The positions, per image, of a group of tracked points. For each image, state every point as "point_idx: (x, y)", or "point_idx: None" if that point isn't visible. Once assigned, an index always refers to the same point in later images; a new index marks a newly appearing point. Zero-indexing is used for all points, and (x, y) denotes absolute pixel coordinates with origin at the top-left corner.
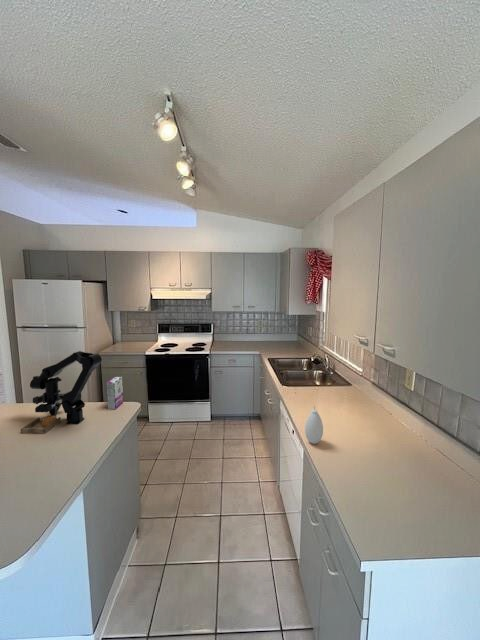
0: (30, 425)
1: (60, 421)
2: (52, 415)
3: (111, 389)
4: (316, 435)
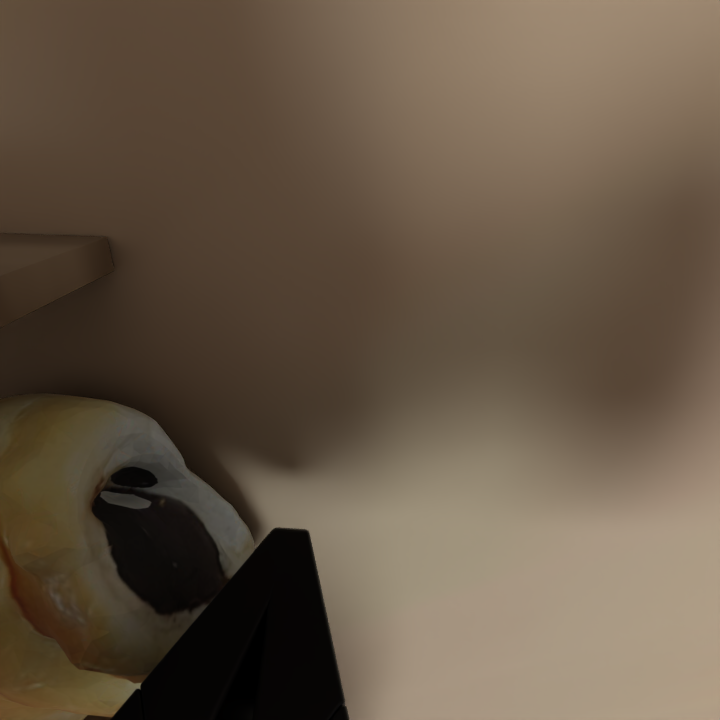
0: None
1: None
2: None
3: None
4: None
